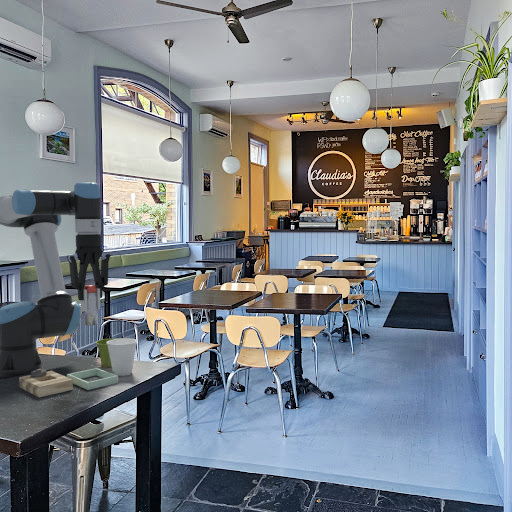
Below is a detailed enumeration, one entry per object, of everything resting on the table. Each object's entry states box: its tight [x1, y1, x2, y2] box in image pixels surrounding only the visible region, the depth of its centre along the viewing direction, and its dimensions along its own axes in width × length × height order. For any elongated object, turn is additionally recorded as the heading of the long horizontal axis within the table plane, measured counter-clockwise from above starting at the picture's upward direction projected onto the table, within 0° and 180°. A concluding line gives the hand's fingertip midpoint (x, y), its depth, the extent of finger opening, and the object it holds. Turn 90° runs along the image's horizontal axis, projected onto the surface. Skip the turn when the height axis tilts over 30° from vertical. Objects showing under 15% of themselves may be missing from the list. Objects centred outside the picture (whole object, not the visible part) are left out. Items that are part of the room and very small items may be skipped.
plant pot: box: [95, 337, 117, 368], centre depth 191 cm, size 9×9×9 cm
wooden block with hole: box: [18, 369, 74, 398], centre depth 162 cm, size 14×10×6 cm
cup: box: [106, 337, 138, 377], centre depth 180 cm, size 10×10×11 cm
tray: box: [66, 367, 119, 391], centre depth 168 cm, size 13×10×3 cm
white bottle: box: [84, 284, 98, 327], centre depth 167 cm, size 4×4×12 cm
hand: (90, 309), depth 167 cm, fingers closed on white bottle, 4 cm apart
